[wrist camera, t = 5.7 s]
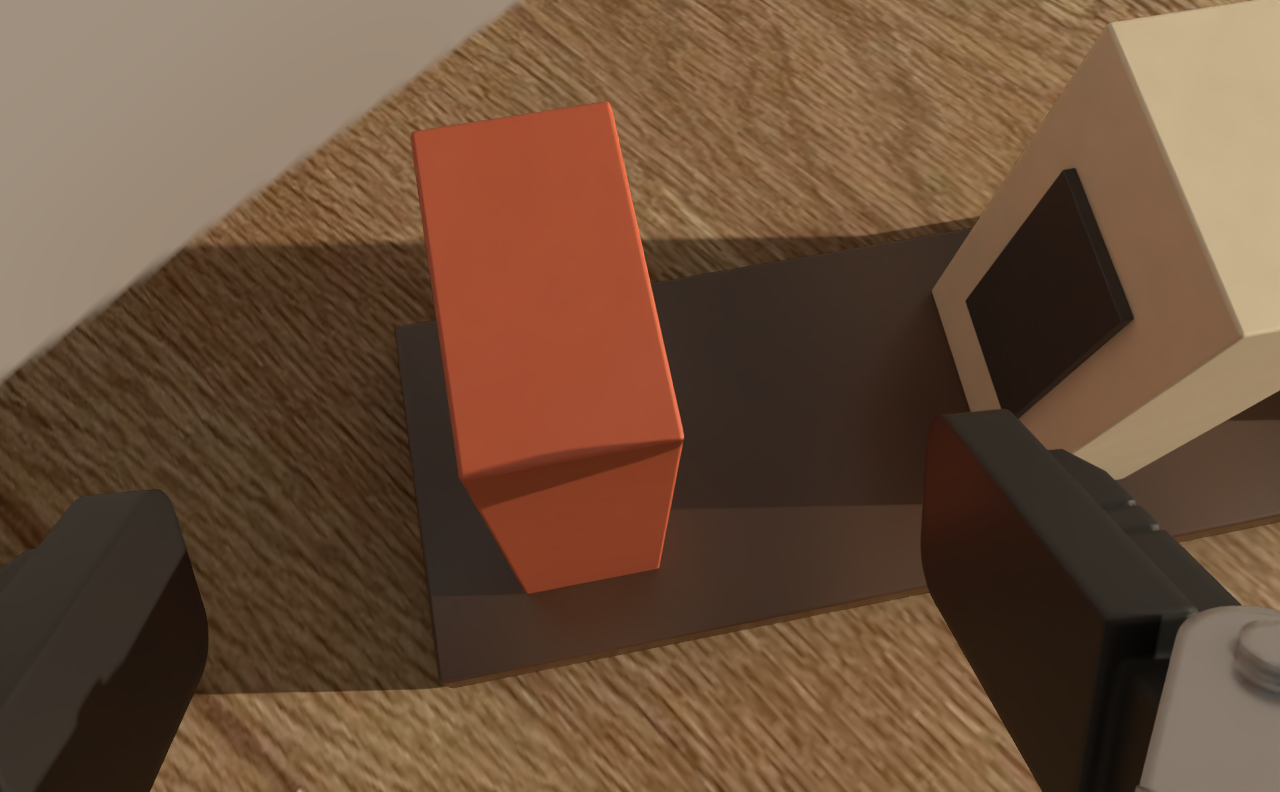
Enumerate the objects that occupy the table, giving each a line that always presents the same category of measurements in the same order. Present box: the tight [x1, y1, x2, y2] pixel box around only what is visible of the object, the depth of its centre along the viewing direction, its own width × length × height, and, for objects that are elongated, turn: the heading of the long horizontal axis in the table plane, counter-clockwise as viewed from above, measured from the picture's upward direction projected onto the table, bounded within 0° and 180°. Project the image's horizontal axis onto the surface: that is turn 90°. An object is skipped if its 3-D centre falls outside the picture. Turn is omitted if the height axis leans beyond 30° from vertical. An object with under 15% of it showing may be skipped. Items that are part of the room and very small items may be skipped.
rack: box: [395, 228, 1280, 688], centre depth 21 cm, size 24×7×1 cm, turn 101°
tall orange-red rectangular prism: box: [410, 102, 684, 594], centre depth 16 cm, size 3×4×8 cm, turn 11°
